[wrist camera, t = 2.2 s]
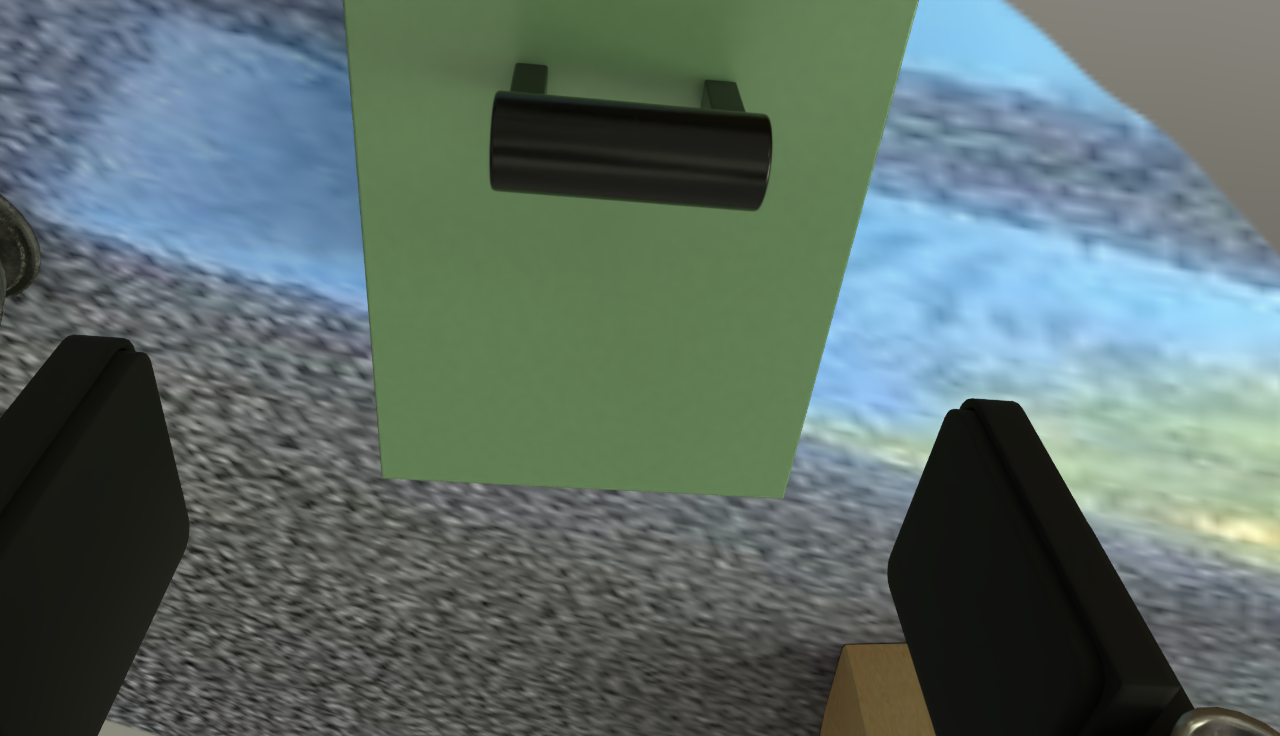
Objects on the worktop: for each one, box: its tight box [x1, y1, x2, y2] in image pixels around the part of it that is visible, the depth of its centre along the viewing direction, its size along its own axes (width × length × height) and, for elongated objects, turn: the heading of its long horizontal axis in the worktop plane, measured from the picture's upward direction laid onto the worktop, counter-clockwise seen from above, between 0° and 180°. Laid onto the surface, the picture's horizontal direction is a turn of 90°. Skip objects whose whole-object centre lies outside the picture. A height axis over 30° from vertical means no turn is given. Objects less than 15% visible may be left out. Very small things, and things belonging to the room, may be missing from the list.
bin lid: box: [343, 0, 919, 499], centre depth 21 cm, size 14×12×5 cm
